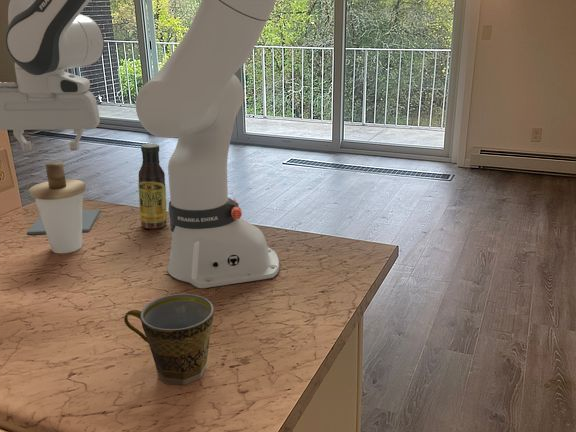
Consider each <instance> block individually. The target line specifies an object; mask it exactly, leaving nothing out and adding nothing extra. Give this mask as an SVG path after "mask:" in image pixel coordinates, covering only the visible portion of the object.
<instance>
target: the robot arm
mask: <svg viewBox="0 0 576 432" xmlns="http://www.w3.org/2000/svg"><path fill="white" fill-rule="evenodd" d="M91 1H92V0H9V3H8V10H7V12H8V13H7V19H8V22H7V23H8V26H7V29H6V35H5V43H6V44H5V45H6V48H7V51H8V52H7V53H8V54H9V56H10V57H11V59H12V60H13V61H14V70H15V77H16V81H10V82H1V81H0V131H13V132H12V133H13V134H12V135H13V136H14V138H16V140H17V141H18V142H19V144H20V145H21V151H22V152H31V151H32V150H33V146H32V141H31V140H29V141H28V140H27V139H26V138H25V136H24V135H23V134H24V133H25V131H26V130H27V131H28V130H29V131H32V130H35V131H36V130H38V131H39V130H42V131H43V130H73V134H74V135H76V136H75V138H74V140H70V142H69V150H70V151H71V152H73V151H79V150H80V142H79V141H80V140H81V138H82V136H83V134H84V130H94V129H96V128H97V127H98V126H99V125H100V124H101V123H100V122H101V119H100V111H99V107H98V103H97V100H96V97H95V95H94V93H93V92H91V91H90V90H89V89H90V87H91V82H90V80H89V78H88V77H87V78H86V77H84V76H80V75H76V74H73V73H70V72H67V71H65V70H69V69H75V68H82V67H89V66H90V65H92V64H93V65H94V64H96V63H97V62H98V61H99V60H100V59H101V57H102V56H103V53H104V50H105V38H104V34H103V31H102V29H101V27H100V25H99V24H98V22H97V21H96V20H95V19H93V18H92V17H91V16H88V15H84V14H82V13H81V12H83V11H84V9H85V7H86V6H88V4H89V3H90V2H91ZM276 2H277V0H201V1H200V3H199V5H198V8H197V10H196V13H195V15H194V17H193V19H192V22H191V23H190V26H189V28H188V29H187V31H186V33H185V34H184V36H183V38H182V39H181V41H180V42H179V43H178V45H177V46H176V48H175V49H174V51H173V52H172V54H171V55H170V56H169V57H168V59H167V60H166V61H165V63H164V64H163V65H162V67H161V68H160V69H159V70H158V72H157V73H156V74H155V75H154V76H153V77H152V78H150V80H149V81H147V82H146V83H145V84H143V85H142V86H141V87H140V89H139V91H138V92H137V95H136V98H135V111H136V115H137V118H138V121H139V123H140V124H141V126H142V127H143V128H144V129H145V130H146V131H147V132H148V133H149V134H150V135H152V136H155V137H157V138H163V139H164V138H166V139H167V138H169V139H172V138H174V139H175V138H177V143H176V145H175V148H174V151H173V153H172V154H171V156H170V157H169V161H168V164H167V165H168V166H167V171H168V175H167V176H168V183H169V195H170V196H169V199H170V201H168V212H167V213H168V223H169V228H170V231H171V246H170V255H169V259H168V265H167V272H168V274H169V275H170V276H171V277H172V278H174V279H176V280H179V281H182V282H185V283H189V284H191V285H192V286H193V287H195V288H198V289H207V288H212V287H219V286H220V287H221V286H229V285H233V284H239V283H240V284H241V283H246V282H253V281H260V280H266V279H272V278H275V276H276V275H277V274H278V273H279V271H280V261H279V257H278V256H279V255H277V253H276V251H274V249H272V248H271V247H269V246H268V244H267V243H268V242H267V240H266V237H265V236H264V233H263V232H262V230H261V229H259V228H258V227H257V226H255V225H254V224H252V223H250V222H249V221H248V220H245V219H244V218H242V215H243V213H242V209H241V207H239V206H240V205H239V203H238V202H237V200H236V199H235V198H233V199H232V198H229V195H228V194H229V193H228V192H229V190H228V189H229V186H228V159H229V152H230V151H229V150H230V149H229V148H230V145H231V140H232V134H233V129H234V124H235V120H236V118H237V115H238V113H239V111H240V109H241V108H242V105H243V102H244V97H245V94H244V88H243V85H242V83H241V81H240V79H239V78H238V76H237V75H236V73H237V72H238V71H239V70H240V69H241V67H243V66H244V65H245V64H246V63H247V61H248V60H249V58H250V57H251V54H252V52H253V51H254V49H255V46H256V45H257V43H258V41H259V39H260V36H261V34H262V32H263V31H264V28H265V26H266V24H267V22H268V20H269V18H270V15H271V14H272V11H273V9H274V7H275V4H276Z"/></svg>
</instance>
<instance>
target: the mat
mask: <svg viewBox="0 0 576 432" xmlns="http://www.w3.org/2000/svg"><path fill="white" fill-rule="evenodd" d="M100 214H101V209H99V208H97V209H96V208H95V209H93V208H92V209H82V233H84V232H90V231H91V229H92V227H93V226H94V224H95V222H96V221H97V218H98V217H99V215H100ZM41 234H43V235H45V234H46V231H45V228H44V225H43V222H42V218H41V215H40V214H39V217H38V218H37V219H36V220H35V221H34V223H33V224H32V225H31V226H30V228H29V229H28V230H27V231H26V235H41ZM46 235H47V234H46Z"/></svg>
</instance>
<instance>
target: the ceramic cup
mask: <svg viewBox="0 0 576 432" xmlns="http://www.w3.org/2000/svg"><path fill="white" fill-rule="evenodd" d="M129 316H131V317H135V318H137V319H139V320H140V322H141V326H142V330H143V332H144V333H143V332H142V331H140V329H138V328H136V327H135V326H134V325H132V324H131V323H130V322H129V320H128V317H129ZM123 318H124V319H123V320H124V321H123V322H124V324H125V325H126V327H127V328H129V329H130V330H131V331H133V333H135V334H137V335H139V337H140V338H141V339H142V340H143V341H144V342H146V343H147V344H148V346H149V348H150V351H151V352H150V353H151V355H152V357H153V362H154V365H155V369H156V371H157V374H158V376H159V377H160V378H161V380H163V382H164V383H165V384H169V385H170V384H171V385H178V386H185V385H188V384H190V383H194V382H195V381H198V380H200V379H201V378H202V376H203V374H204V372H205V370H206V367H207V361H208V354H209V345H210V338H211V332H212V329H213V324H214V323H213V322H214V321H213V320H214V305H213V304H212V302H211V301H210V300H209V299H207V298H205V297H203V296H200V295H197V294H191V293H178V294H177V293H176V294H169V295H166V296H162V297H159V298H157V299H155V300H152V301H150V302H148V303H147V304H146V305H145V306H144V307H143V308H142V309H141V310H140V309H139V310H138V309H131V310H129V311H127V312H126V313H125V315H124V317H123Z"/></svg>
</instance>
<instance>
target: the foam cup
mask: <svg viewBox="0 0 576 432" xmlns="http://www.w3.org/2000/svg"><path fill="white" fill-rule="evenodd" d="M34 200H35V204H36V207H37V208H38V212H39V216H40V215H41V218H42V222H43V225H44V228H45V231H46V237H47V241H48V243H49V246H50V248H51V252H53V253H55V254H69V253H72V252H76V251H79V250H80V249H81V248H82V247H83V232H82V210H83V201H84V196H83V193H81V194H79V195H76V196H73V197H68V198H63V199H54V200H43V199H36V198H34Z"/></svg>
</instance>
